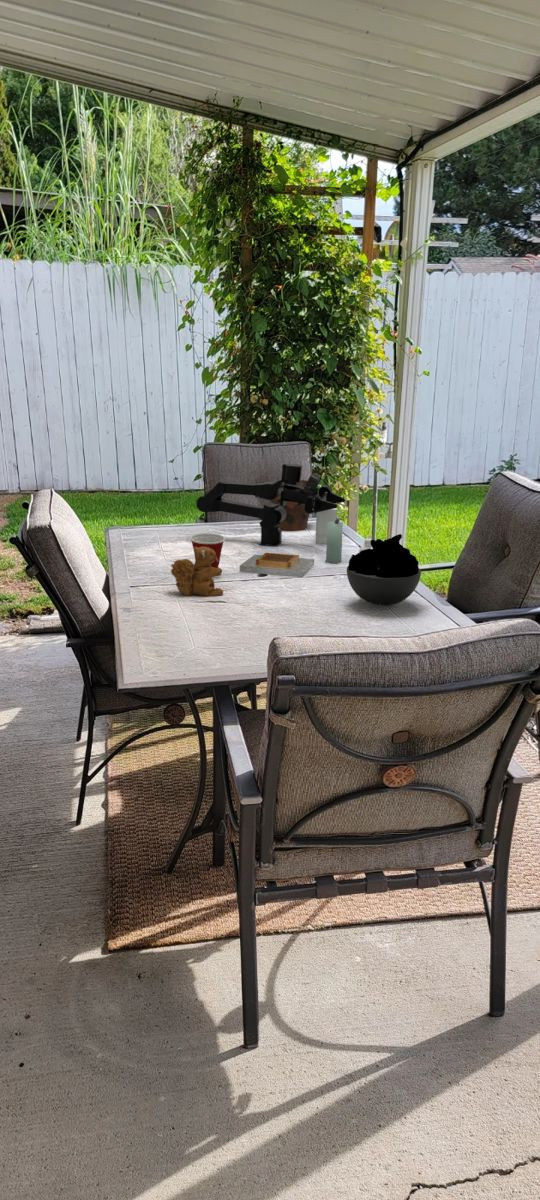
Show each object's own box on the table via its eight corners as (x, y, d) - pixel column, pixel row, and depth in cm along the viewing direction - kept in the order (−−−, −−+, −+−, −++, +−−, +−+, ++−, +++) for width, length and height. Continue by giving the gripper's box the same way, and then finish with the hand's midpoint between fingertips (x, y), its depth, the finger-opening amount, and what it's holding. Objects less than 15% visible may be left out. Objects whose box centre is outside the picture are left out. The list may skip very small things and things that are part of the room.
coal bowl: (368, 618, 225) (371, 547, 220) (332, 598, 242) (334, 532, 237) (433, 610, 233) (438, 542, 227) (394, 592, 250) (397, 527, 245)
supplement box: (336, 544, 311) (337, 509, 307) (315, 544, 311) (316, 509, 307) (335, 540, 318) (336, 505, 314) (315, 539, 318) (316, 505, 314)
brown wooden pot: (262, 531, 331) (263, 484, 326) (270, 521, 350) (272, 477, 345) (308, 534, 328) (311, 487, 323) (314, 524, 347) (317, 479, 342)
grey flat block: (239, 571, 270) (239, 560, 269) (254, 560, 285) (254, 550, 284) (301, 577, 265) (302, 565, 264) (313, 565, 280) (314, 554, 279)
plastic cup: (195, 580, 259) (194, 541, 256) (186, 572, 269) (185, 534, 266) (229, 577, 263) (230, 539, 260) (219, 569, 273) (219, 532, 269)
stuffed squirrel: (226, 595, 244) (226, 549, 241) (177, 599, 240) (176, 553, 236) (216, 586, 253) (216, 542, 250) (168, 590, 249) (168, 545, 245)
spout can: (323, 560, 286) (324, 515, 282) (337, 559, 288) (338, 515, 284) (330, 564, 282) (331, 518, 278) (343, 562, 284) (345, 517, 280)
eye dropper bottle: (369, 570, 275) (370, 532, 272) (377, 574, 270) (379, 536, 267) (356, 571, 273) (358, 533, 270) (365, 575, 268) (366, 537, 265)
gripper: (291, 478, 291) (335, 486, 286) (309, 467, 307) (351, 474, 302) (288, 510, 295) (331, 518, 290) (306, 498, 311) (347, 505, 306)
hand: (341, 503), depth 297 cm, fingers open, 9 cm apart
